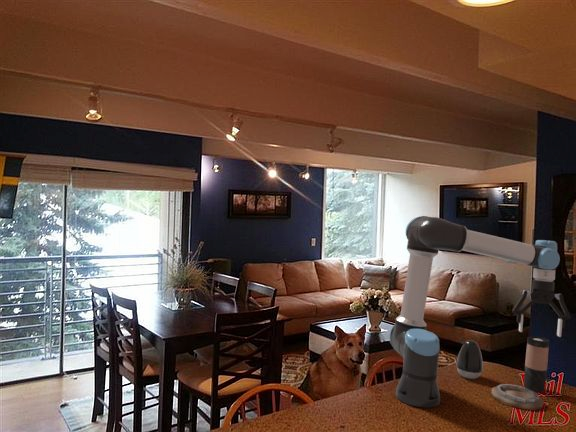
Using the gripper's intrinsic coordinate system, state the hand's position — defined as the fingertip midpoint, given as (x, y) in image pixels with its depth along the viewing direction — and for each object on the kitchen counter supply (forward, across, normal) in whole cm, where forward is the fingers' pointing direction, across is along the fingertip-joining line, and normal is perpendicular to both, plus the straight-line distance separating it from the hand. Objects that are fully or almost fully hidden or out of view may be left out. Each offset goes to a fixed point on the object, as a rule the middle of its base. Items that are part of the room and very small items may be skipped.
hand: (539, 333), depth 180 cm
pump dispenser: (+22, -24, +2) cm, 33 cm away
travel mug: (+22, 0, 0) cm, 22 cm away
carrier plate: (+22, -10, -15) cm, 28 cm away
